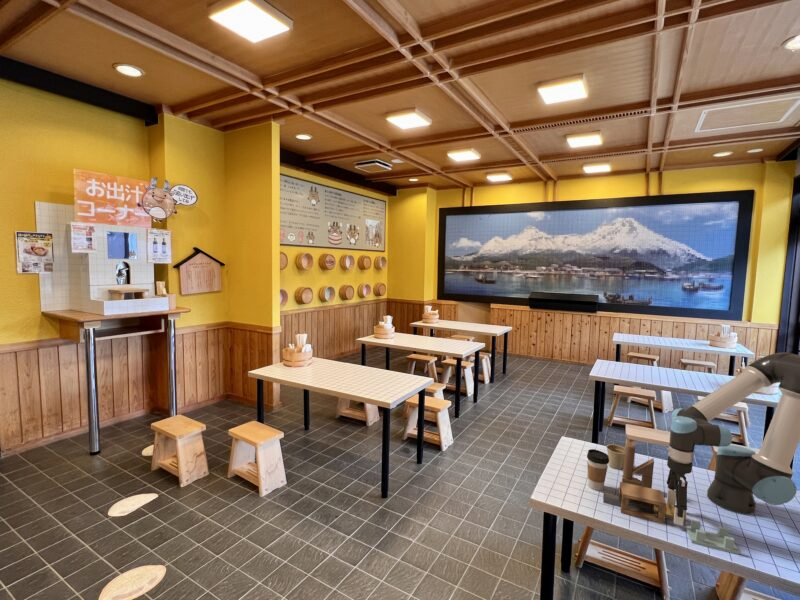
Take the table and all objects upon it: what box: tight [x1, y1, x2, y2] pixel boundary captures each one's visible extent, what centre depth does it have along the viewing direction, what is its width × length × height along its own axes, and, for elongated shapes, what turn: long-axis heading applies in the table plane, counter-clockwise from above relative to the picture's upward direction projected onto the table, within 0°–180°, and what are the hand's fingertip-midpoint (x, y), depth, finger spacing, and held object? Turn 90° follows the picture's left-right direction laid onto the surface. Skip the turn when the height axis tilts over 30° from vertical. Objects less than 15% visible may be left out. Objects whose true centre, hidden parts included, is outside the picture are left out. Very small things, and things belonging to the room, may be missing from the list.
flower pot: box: [605, 444, 625, 470], centre depth 188 cm, size 9×9×9 cm
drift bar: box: [602, 492, 654, 515], centre depth 156 cm, size 17×3×3 cm, turn 65°
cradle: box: [685, 519, 740, 555], centre depth 138 cm, size 13×8×4 cm, turn 67°
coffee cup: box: [586, 448, 609, 492], centre depth 169 cm, size 8×8×15 cm
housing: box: [618, 481, 667, 524], centre depth 154 cm, size 14×9×8 cm
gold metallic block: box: [653, 502, 687, 523], centre depth 150 cm, size 10×5×5 cm, turn 65°
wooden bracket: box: [621, 443, 655, 489], centre depth 169 cm, size 4×11×18 cm, turn 60°
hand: (674, 514), depth 149 cm, fingers open, 11 cm apart
